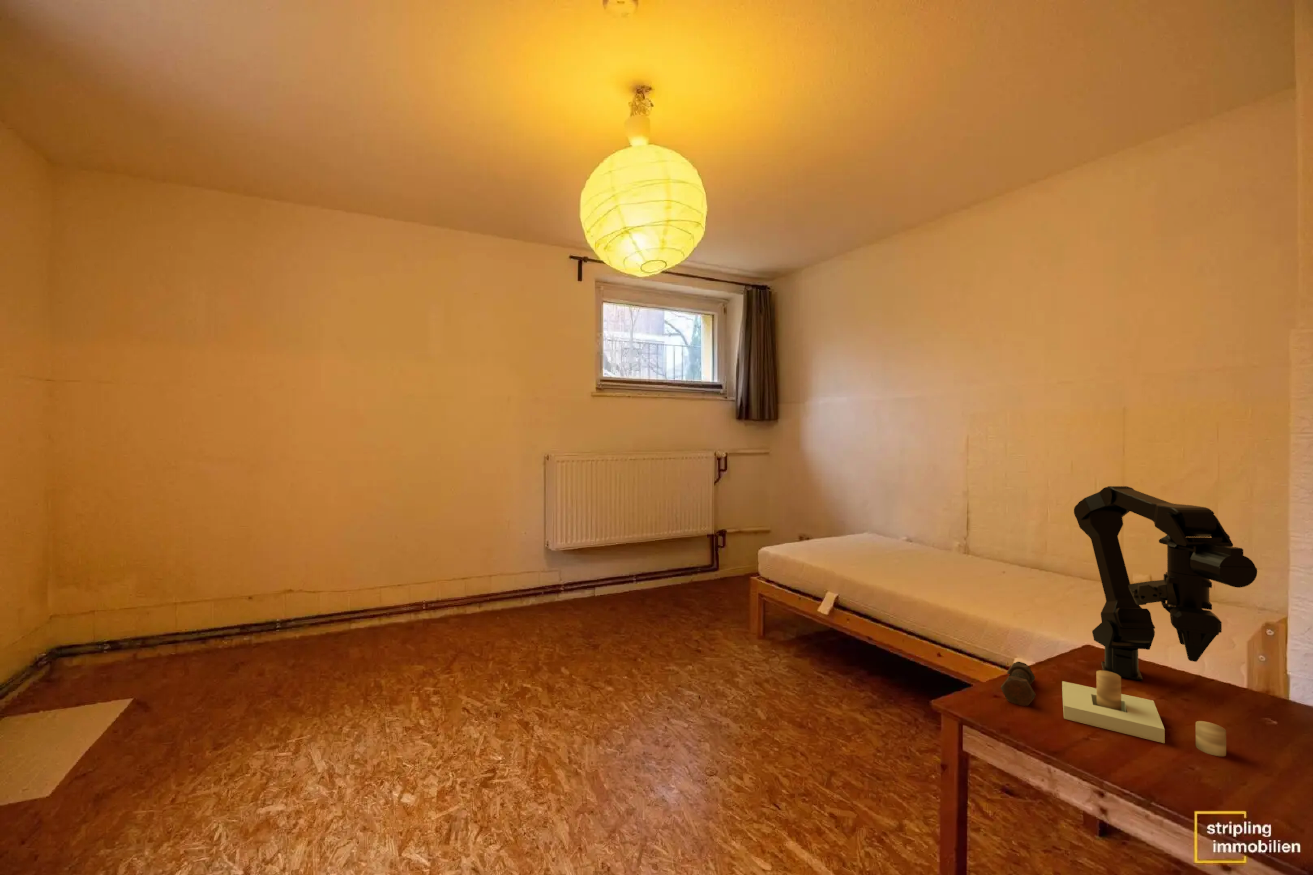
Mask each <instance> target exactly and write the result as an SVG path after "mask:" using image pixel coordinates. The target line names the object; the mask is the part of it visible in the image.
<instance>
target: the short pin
mask: <svg viewBox="0 0 1313 875" xmlns="http://www.w3.org/2000/svg"><path fill="white" fill-rule="evenodd" d="M1195 747H1196V749H1198V750H1199V751H1201V752H1203V753H1205V754H1208V755H1212V756H1216V757H1226V756H1227V730H1226V728H1224V727H1222V725H1218V724H1216V723H1212V722H1209V721H1203V720H1198V721H1195Z"/></svg>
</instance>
